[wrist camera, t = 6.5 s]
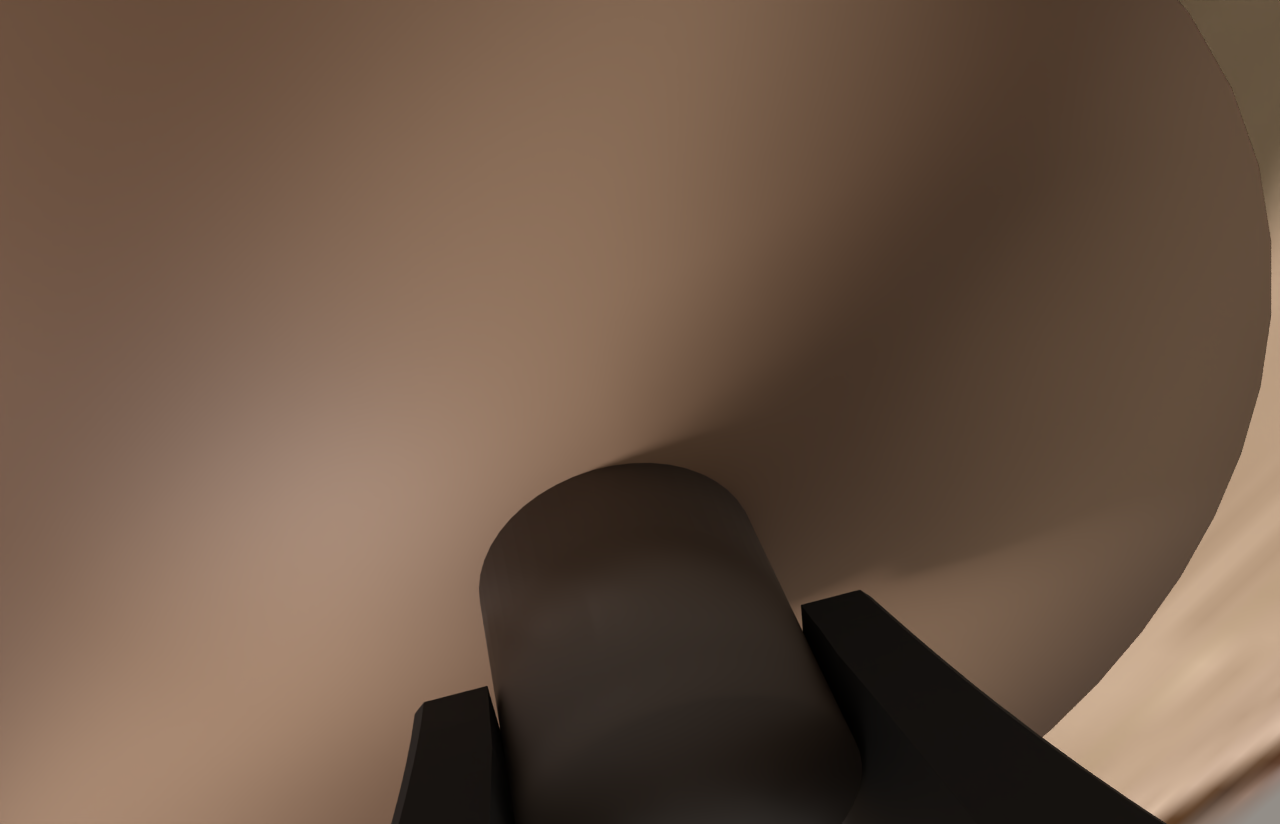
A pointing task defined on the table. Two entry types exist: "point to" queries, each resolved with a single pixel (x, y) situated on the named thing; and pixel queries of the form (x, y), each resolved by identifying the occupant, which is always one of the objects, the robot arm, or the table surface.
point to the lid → (590, 383)
